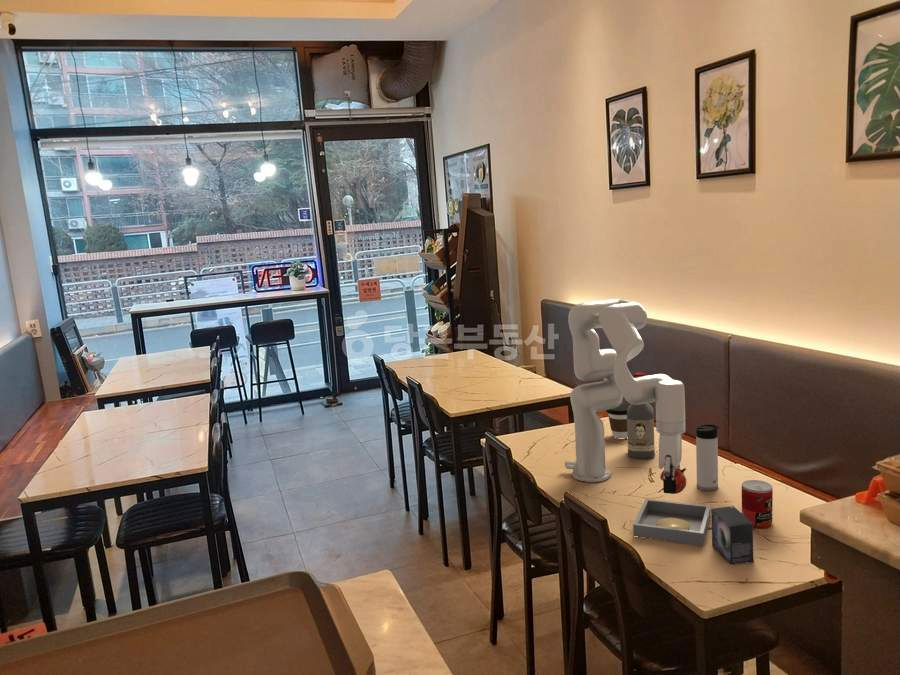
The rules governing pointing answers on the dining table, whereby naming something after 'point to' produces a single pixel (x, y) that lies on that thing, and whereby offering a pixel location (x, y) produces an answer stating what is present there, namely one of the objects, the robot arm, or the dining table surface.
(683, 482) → the pomegranate
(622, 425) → the coffee cup
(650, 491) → the dining table surface
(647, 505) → the walled pen
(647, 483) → the dining table surface
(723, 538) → the small box
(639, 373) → the liquor
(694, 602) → the dining table surface
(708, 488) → the travel mug
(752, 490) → the canned food
